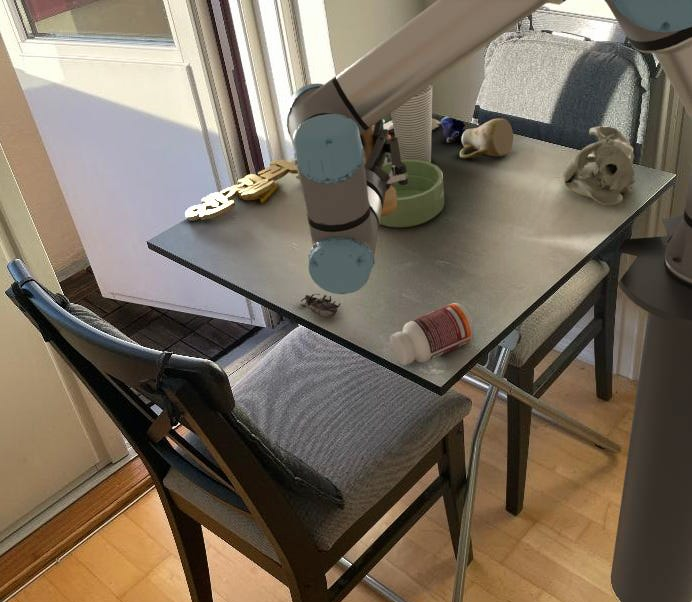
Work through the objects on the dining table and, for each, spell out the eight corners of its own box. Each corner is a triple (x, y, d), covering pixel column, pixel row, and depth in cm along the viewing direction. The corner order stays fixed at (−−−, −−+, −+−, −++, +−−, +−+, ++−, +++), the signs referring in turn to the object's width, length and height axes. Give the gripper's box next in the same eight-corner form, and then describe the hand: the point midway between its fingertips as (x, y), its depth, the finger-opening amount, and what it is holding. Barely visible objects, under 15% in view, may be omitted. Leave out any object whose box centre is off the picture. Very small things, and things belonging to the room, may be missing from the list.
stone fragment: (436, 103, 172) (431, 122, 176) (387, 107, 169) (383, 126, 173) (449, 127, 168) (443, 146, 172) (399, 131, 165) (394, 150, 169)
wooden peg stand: (405, 201, 126) (392, 74, 113) (382, 221, 122) (366, 92, 109) (371, 193, 129) (355, 69, 116) (348, 213, 126) (329, 87, 112)
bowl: (458, 197, 148) (457, 167, 145) (417, 236, 140) (414, 206, 137) (393, 182, 156) (390, 154, 152) (350, 219, 148) (346, 190, 144)
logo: (279, 186, 161) (244, 182, 164) (278, 182, 160) (244, 178, 164) (262, 202, 157) (228, 198, 160) (262, 199, 156) (227, 195, 159)
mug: (468, 139, 165) (493, 99, 158) (501, 171, 162) (528, 131, 155) (447, 146, 160) (471, 104, 153) (480, 178, 158) (507, 138, 150)
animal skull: (566, 188, 154) (547, 124, 149) (632, 165, 151) (616, 99, 145) (574, 222, 139) (554, 153, 134) (649, 198, 135) (631, 126, 130)
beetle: (322, 299, 131) (321, 282, 129) (342, 318, 126) (341, 300, 124) (300, 305, 130) (299, 288, 128) (319, 325, 125) (318, 307, 123)
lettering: (198, 227, 151) (196, 223, 150) (180, 214, 158) (178, 210, 158) (309, 167, 157) (308, 163, 157) (286, 158, 165) (285, 153, 165)
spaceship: (474, 144, 162) (456, 158, 165) (478, 128, 166) (460, 143, 169) (449, 118, 159) (431, 133, 162) (454, 103, 163) (436, 118, 167)
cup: (437, 152, 163) (432, 77, 152) (437, 173, 156) (431, 95, 146) (395, 155, 164) (387, 81, 154) (393, 176, 158) (385, 99, 147)
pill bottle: (452, 293, 116) (386, 321, 113) (477, 318, 112) (409, 347, 109) (451, 324, 121) (387, 351, 118) (474, 349, 117) (409, 378, 114)
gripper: (303, 232, 109) (328, 150, 126) (413, 227, 106) (423, 144, 124) (293, 183, 104) (320, 104, 122) (408, 176, 102) (419, 96, 119)
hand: (372, 124), depth 123 cm, fingers closed on wooden peg stand, 2 cm apart
